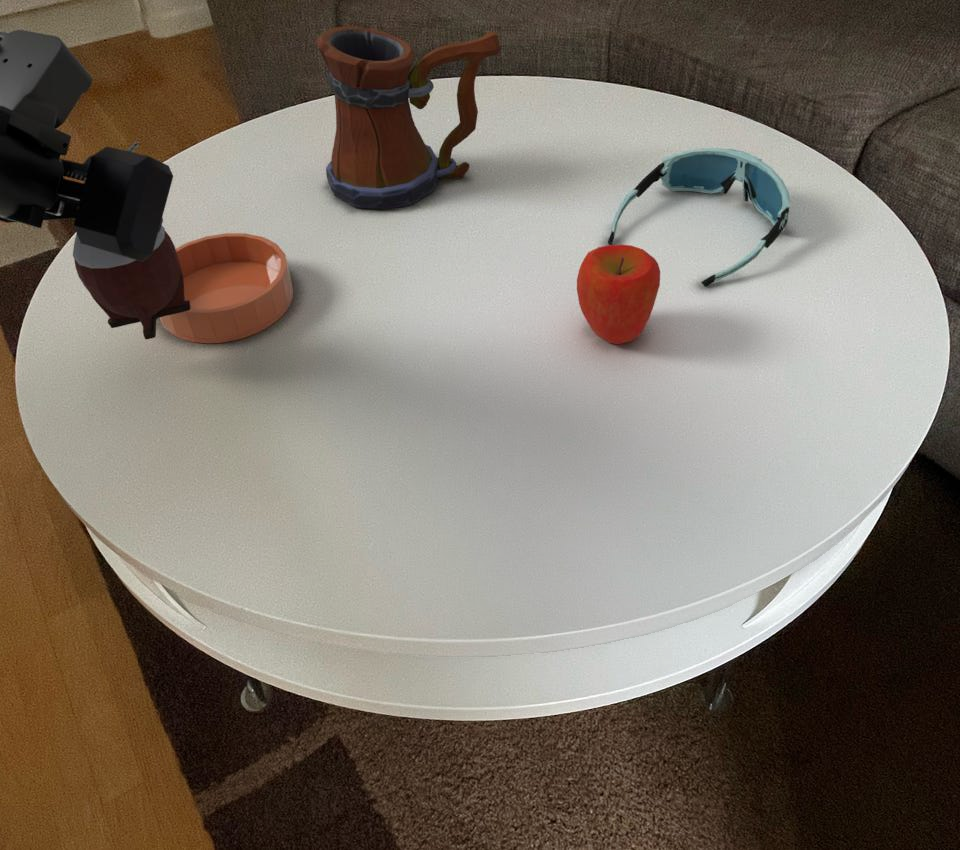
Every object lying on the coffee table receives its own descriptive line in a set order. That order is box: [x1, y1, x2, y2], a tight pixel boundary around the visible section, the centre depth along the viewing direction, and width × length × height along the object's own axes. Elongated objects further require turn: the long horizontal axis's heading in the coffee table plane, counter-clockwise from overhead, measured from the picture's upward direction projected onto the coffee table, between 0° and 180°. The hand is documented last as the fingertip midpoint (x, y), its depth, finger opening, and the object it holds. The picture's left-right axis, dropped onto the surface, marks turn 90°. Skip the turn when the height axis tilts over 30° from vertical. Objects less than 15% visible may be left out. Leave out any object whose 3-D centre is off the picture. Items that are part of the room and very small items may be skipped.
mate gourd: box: [72, 141, 191, 340], centre depth 66 cm, size 8×8×15 cm
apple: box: [576, 244, 661, 345], centre depth 72 cm, size 6×6×8 cm
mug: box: [315, 25, 502, 210], centre depth 88 cm, size 18×12×15 cm, turn 93°
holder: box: [159, 232, 294, 344], centre depth 78 cm, size 12×12×3 cm
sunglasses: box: [607, 147, 792, 287], centre depth 83 cm, size 14×15×5 cm
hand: (129, 216), depth 66 cm, fingers closed on mate gourd, 5 cm apart
